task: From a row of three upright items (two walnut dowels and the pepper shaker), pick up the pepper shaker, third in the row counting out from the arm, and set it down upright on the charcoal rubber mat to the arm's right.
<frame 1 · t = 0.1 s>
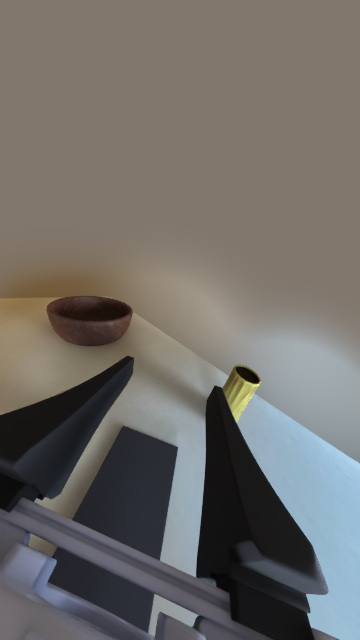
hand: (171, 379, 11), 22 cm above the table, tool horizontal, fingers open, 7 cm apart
wooden bowl: (95, 331, 51), on the table
vase: (221, 417, 32), on the table
mat: (121, 521, 16), on the table
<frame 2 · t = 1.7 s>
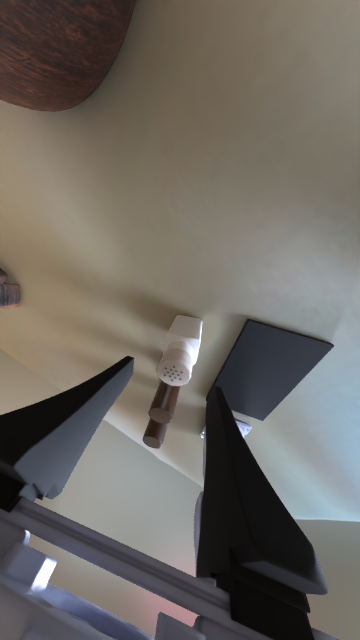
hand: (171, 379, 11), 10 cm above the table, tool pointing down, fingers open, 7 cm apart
walnut dowel 2: (176, 364, 24), on the table
walnut dowel 1: (169, 388, 27), on the table
pepper shaker: (188, 326, 21), on the table
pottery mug: (3, 279, 24), on the table
mat: (255, 376, 22), on the table
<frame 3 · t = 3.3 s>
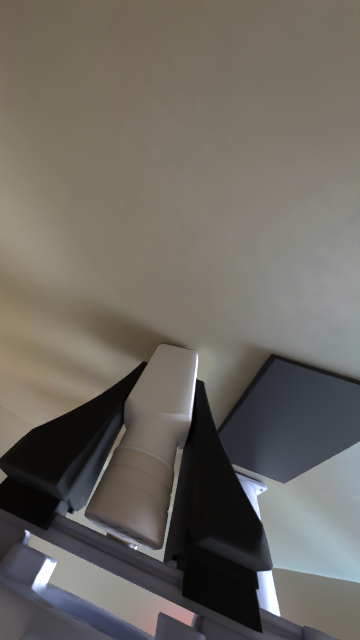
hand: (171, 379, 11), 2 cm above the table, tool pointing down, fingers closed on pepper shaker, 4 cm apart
pepper shaker: (177, 359, 14), on the table, touching gripper
mat: (278, 430, 15), on the table
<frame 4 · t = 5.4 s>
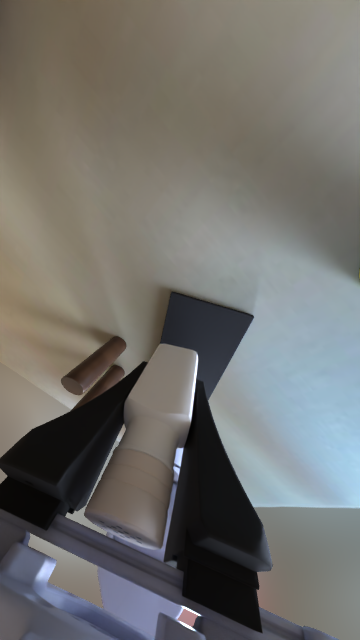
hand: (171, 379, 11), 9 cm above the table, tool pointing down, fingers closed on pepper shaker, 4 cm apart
walnut dowel 2: (118, 343, 24), on the table
walnut dowel 1: (117, 370, 27), on the table
pepper shaker: (177, 358, 14), point 7 cm above the table, touching gripper
mat: (192, 354, 21), on the table
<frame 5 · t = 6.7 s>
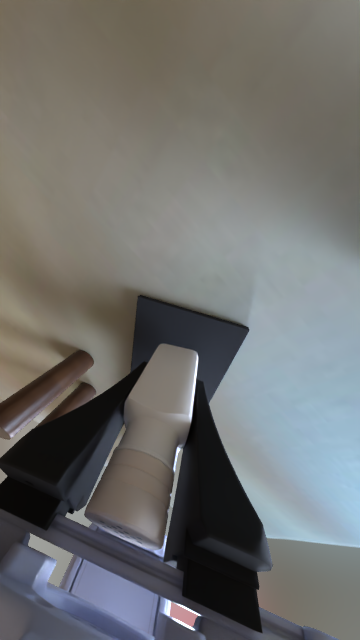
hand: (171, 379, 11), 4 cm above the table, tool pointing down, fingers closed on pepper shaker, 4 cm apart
walnut dowel 2: (84, 358, 19), on the table
walnut dowel 1: (88, 389, 22), on the table
pepper shaker: (177, 358, 14), point 2 cm above the table, touching gripper
mat: (173, 373, 17), on the table
when the fingers open (3 cm above the table, at t = 7.5 s): pepper shaker stays where it is, resting on mat.
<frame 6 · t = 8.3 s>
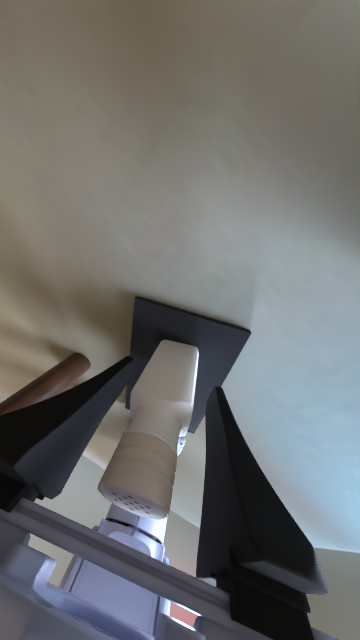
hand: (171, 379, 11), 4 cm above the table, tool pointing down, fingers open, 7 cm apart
walnut dowel 2: (81, 361, 19), on the table
pepper shaker: (178, 354, 14), resting on mat
mat: (172, 377, 16), on the table
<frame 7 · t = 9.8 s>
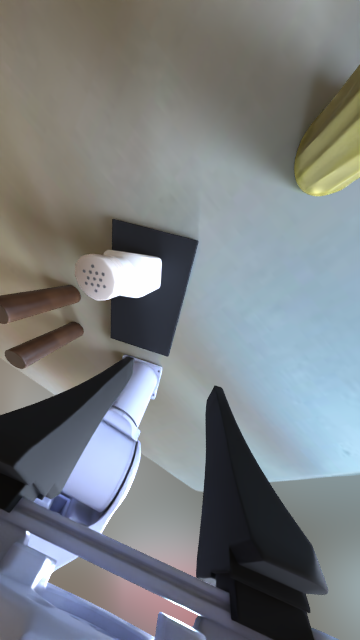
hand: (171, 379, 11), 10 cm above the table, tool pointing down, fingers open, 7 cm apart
walnut dowel 2: (72, 294, 22), on the table
walnut dowel 1: (76, 329, 25), on the table
pepper shaker: (148, 271, 18), resting on mat
vase: (331, 154, 12), on the table
mat: (146, 298, 20), on the table
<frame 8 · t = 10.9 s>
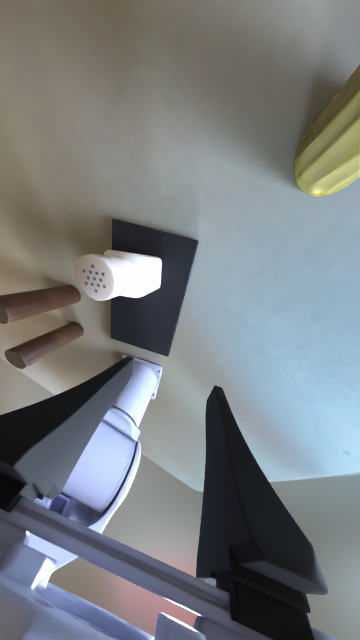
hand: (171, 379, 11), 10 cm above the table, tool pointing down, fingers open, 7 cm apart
walnut dowel 2: (72, 294, 22), on the table
walnut dowel 1: (76, 329, 25), on the table
pepper shaker: (148, 271, 18), resting on mat
vase: (331, 154, 12), on the table
mat: (146, 298, 20), on the table
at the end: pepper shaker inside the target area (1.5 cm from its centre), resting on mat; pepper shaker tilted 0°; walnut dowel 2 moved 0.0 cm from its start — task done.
